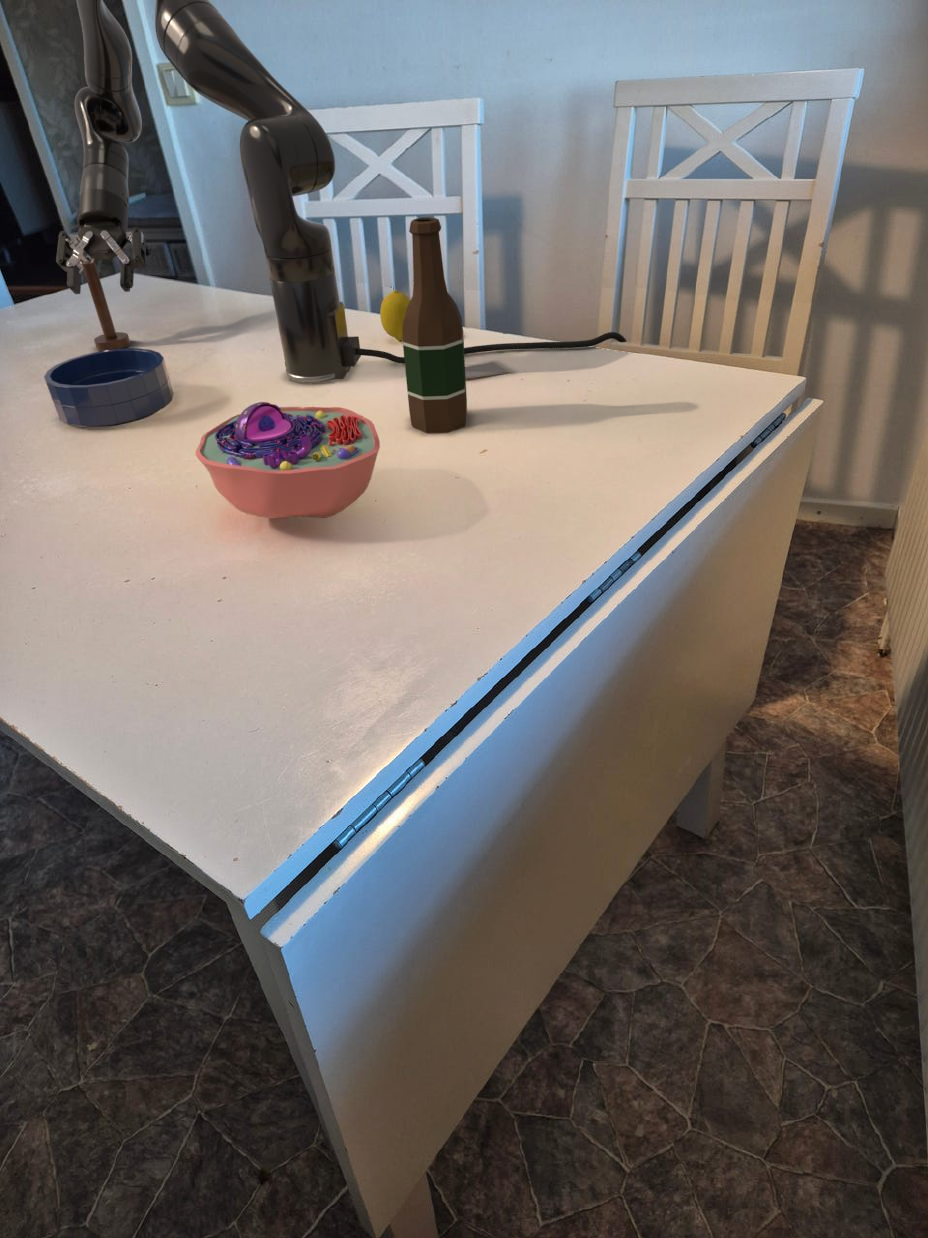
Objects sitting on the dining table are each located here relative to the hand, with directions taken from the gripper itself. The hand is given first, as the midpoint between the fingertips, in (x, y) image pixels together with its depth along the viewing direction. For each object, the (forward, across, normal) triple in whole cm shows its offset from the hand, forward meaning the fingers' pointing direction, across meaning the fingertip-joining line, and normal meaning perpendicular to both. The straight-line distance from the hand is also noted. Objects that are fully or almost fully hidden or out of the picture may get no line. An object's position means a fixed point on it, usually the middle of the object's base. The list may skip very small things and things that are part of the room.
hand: (100, 290), depth 135 cm
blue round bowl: (+28, +12, -15) cm, 34 cm away
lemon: (+10, +50, +3) cm, 51 cm away
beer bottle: (+35, +58, -22) cm, 71 cm away
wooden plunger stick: (+7, 0, +6) cm, 9 cm away
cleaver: (+23, +60, -10) cm, 65 cm away
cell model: (+50, +44, -37) cm, 77 cm away
